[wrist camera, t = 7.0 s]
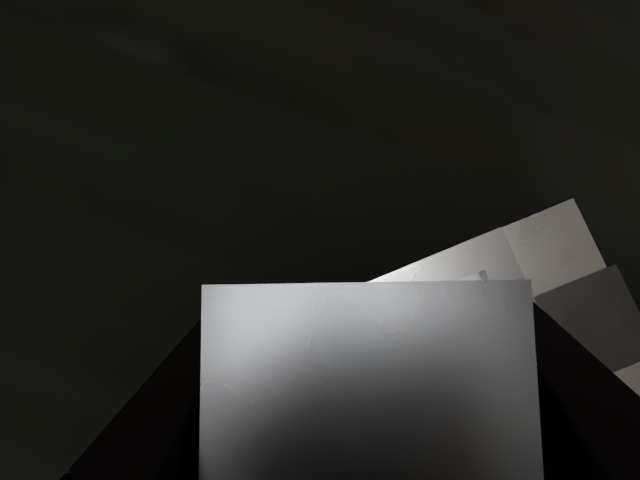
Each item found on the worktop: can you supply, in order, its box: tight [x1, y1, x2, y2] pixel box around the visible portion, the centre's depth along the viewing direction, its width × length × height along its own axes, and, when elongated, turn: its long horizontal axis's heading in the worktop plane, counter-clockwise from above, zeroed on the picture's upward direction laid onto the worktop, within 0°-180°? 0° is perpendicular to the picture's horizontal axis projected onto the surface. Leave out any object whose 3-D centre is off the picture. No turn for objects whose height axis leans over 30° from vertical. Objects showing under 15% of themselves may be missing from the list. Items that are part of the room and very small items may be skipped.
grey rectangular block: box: [199, 279, 544, 480], centre depth 11 cm, size 4×4×10 cm
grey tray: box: [369, 199, 640, 396], centre depth 21 cm, size 9×17×2 cm, turn 112°
